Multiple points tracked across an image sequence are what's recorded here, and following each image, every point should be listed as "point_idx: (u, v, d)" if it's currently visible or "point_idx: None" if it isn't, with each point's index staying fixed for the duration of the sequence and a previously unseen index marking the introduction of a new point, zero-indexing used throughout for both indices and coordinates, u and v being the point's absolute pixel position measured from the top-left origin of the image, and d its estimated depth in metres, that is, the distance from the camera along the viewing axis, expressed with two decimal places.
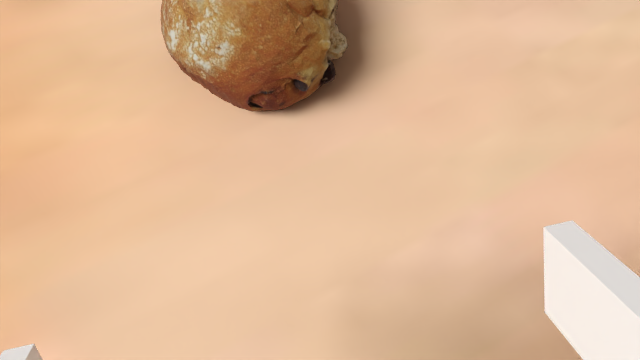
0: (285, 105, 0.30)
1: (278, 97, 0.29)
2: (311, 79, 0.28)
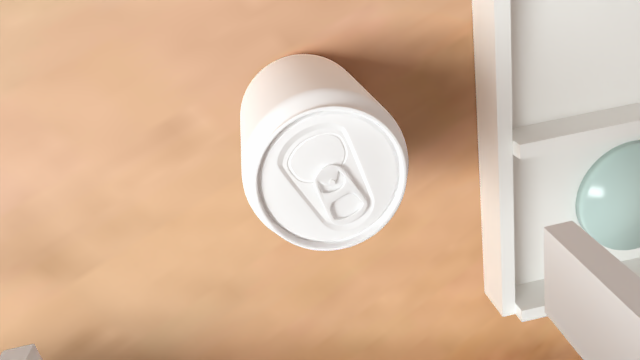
0: None
1: None
2: None
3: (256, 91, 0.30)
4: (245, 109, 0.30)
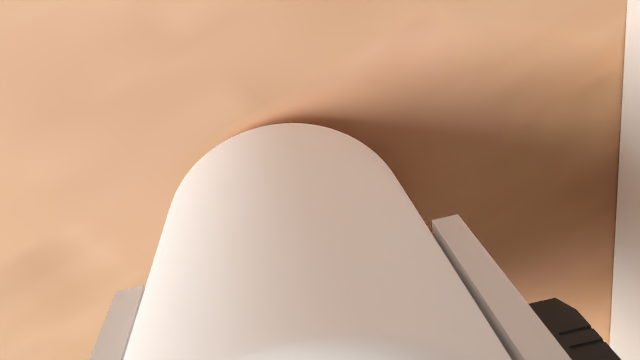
0: None
1: None
2: None
3: (171, 234, 0.13)
4: None
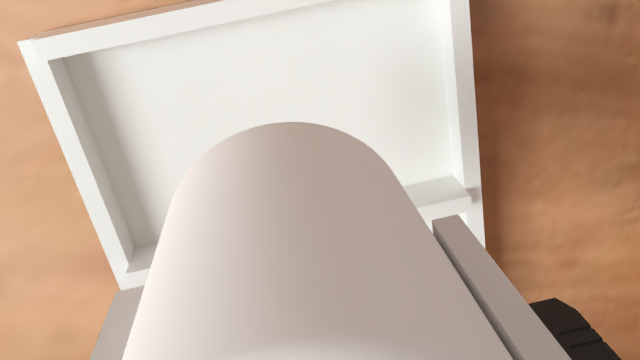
0: None
1: None
2: None
3: (170, 233, 0.13)
4: None
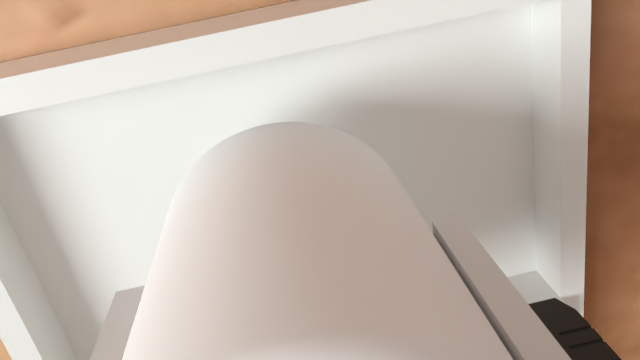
0: None
1: None
2: None
3: (170, 233, 0.13)
4: None
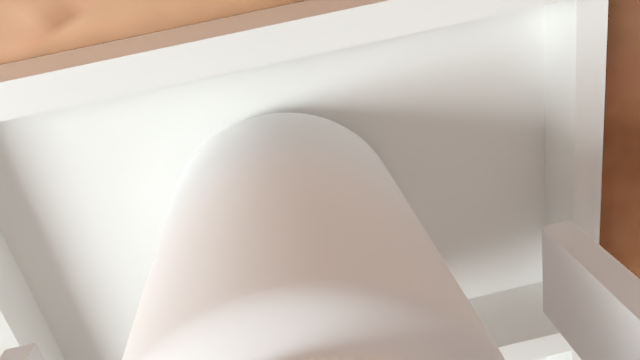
0: None
1: None
2: None
3: (176, 211, 0.14)
4: None
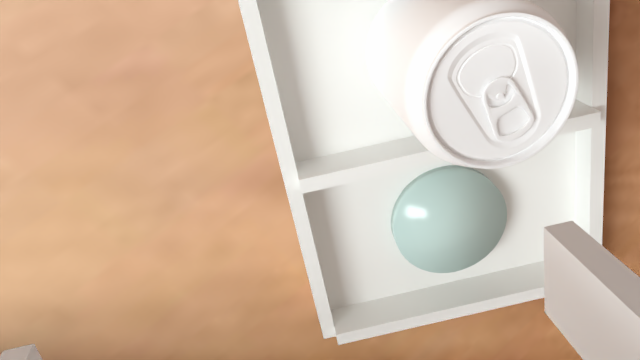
0: None
1: None
2: None
3: (397, 15, 0.29)
4: (384, 35, 0.29)
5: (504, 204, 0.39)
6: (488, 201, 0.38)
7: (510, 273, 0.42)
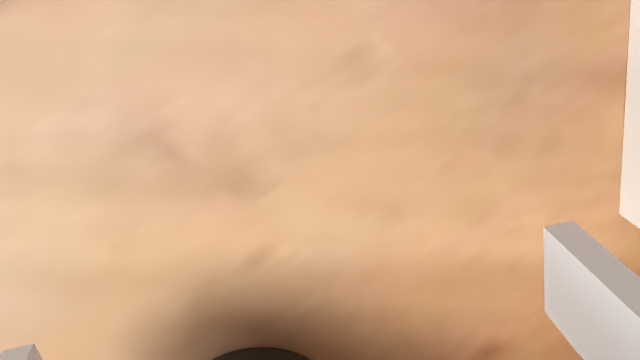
0: None
1: None
2: None
3: None
4: None
5: None
6: None
7: None
